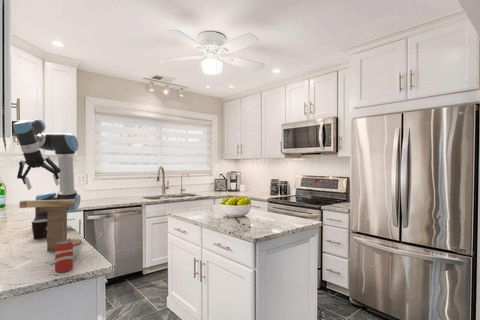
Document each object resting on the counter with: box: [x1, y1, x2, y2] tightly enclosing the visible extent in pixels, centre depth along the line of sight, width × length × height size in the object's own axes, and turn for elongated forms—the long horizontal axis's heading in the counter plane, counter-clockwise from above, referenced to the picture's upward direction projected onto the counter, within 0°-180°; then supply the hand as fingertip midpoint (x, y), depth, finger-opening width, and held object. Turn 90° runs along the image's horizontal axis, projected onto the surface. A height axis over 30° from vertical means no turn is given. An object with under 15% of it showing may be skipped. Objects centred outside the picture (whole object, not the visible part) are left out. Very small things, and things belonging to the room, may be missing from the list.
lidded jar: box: [56, 237, 83, 260], centre depth 133 cm, size 11×11×9 cm
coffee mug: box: [31, 219, 47, 240], centre depth 170 cm, size 12×9×10 cm
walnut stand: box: [39, 206, 69, 253], centre depth 146 cm, size 9×11×22 cm
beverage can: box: [54, 239, 74, 273], centre depth 119 cm, size 6×6×12 cm
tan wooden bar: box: [18, 199, 76, 209], centre depth 146 cm, size 4×24×3 cm, turn 108°
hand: (44, 186), depth 156 cm, fingers open, 13 cm apart
